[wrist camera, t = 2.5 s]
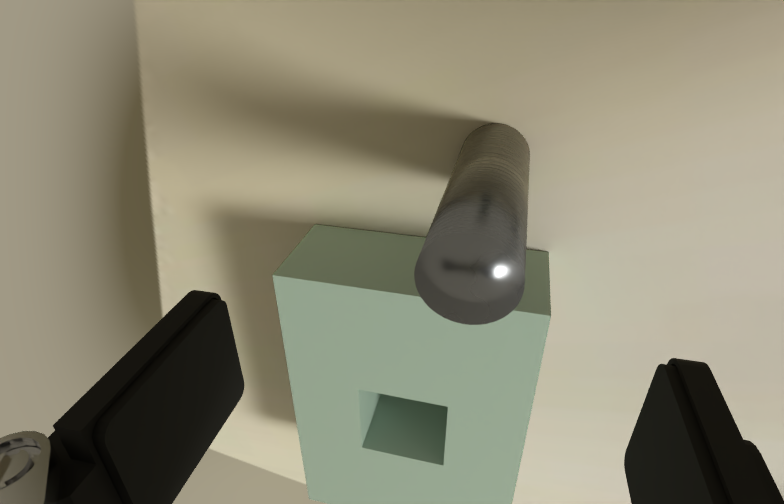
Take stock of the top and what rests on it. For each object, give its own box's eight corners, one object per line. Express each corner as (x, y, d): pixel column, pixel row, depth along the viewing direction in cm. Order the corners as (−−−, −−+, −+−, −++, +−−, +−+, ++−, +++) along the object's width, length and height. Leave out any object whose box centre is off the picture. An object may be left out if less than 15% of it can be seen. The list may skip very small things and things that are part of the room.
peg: (463, 121, 21) (415, 226, 13) (534, 125, 20) (532, 240, 12) (458, 185, 23) (413, 316, 14) (524, 191, 22) (517, 332, 14)
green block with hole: (315, 224, 26) (272, 275, 22) (548, 252, 23) (550, 315, 19) (336, 434, 35) (309, 498, 30) (507, 471, 32) (502, 547, 28)
